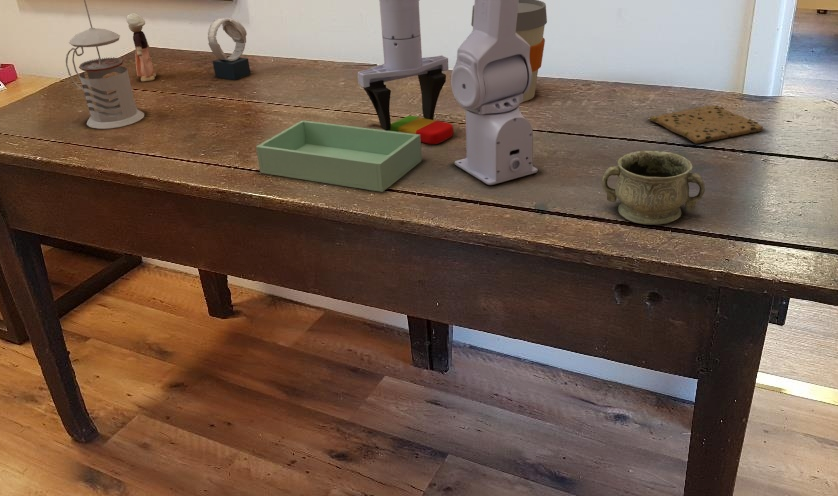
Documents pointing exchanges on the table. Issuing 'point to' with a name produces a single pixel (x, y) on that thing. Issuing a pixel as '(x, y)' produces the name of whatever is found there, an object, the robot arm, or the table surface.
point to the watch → (233, 64)
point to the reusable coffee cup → (531, 35)
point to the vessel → (652, 186)
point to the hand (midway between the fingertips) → (407, 123)
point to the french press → (104, 82)
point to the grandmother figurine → (141, 48)
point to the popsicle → (422, 128)
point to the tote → (340, 155)
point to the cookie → (706, 123)
